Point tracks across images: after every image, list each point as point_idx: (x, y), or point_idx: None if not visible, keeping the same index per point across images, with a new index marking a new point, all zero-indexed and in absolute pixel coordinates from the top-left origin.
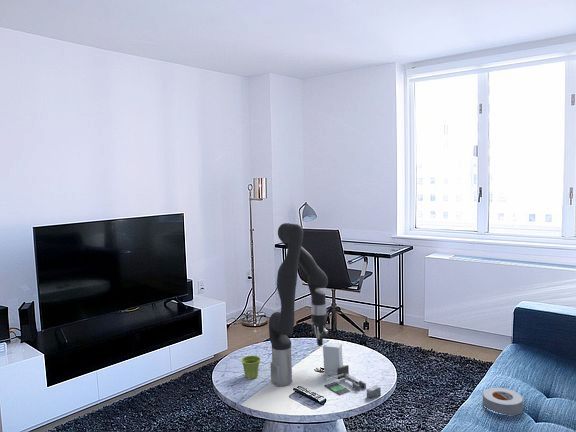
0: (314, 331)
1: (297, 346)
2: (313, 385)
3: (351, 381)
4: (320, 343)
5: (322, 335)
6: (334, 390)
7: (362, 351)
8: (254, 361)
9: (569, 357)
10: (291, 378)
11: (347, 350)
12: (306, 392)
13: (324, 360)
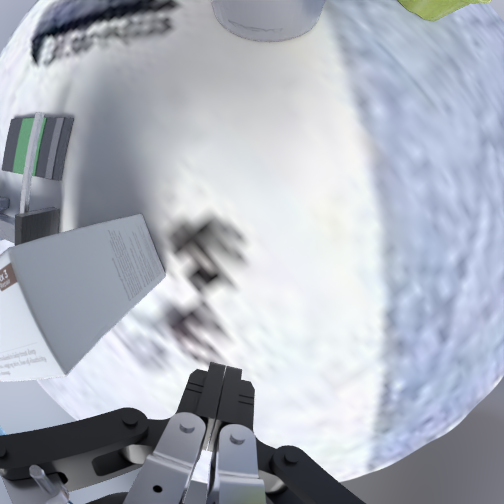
0: (305, 501)
1: (456, 377)
2: (113, 81)
3: (8, 217)
4: (188, 383)
5: (70, 438)
6: (28, 120)
7: (208, 472)
8: (463, 3)
9: None
10: (214, 7)
11: None
12: (107, 26)
13: (89, 225)
